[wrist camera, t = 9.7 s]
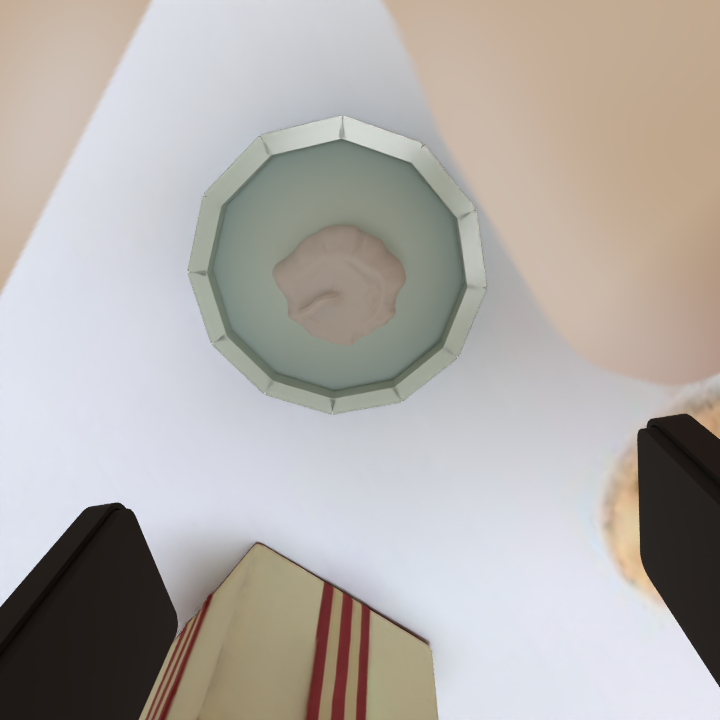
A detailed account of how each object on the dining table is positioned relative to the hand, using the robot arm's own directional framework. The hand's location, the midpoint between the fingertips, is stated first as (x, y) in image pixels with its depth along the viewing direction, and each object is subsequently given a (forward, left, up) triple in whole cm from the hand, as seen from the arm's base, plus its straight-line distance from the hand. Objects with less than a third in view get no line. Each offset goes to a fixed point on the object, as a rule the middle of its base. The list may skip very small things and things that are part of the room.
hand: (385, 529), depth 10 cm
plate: (+2, -2, -19) cm, 19 cm away
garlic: (+1, -1, -18) cm, 18 cm away
